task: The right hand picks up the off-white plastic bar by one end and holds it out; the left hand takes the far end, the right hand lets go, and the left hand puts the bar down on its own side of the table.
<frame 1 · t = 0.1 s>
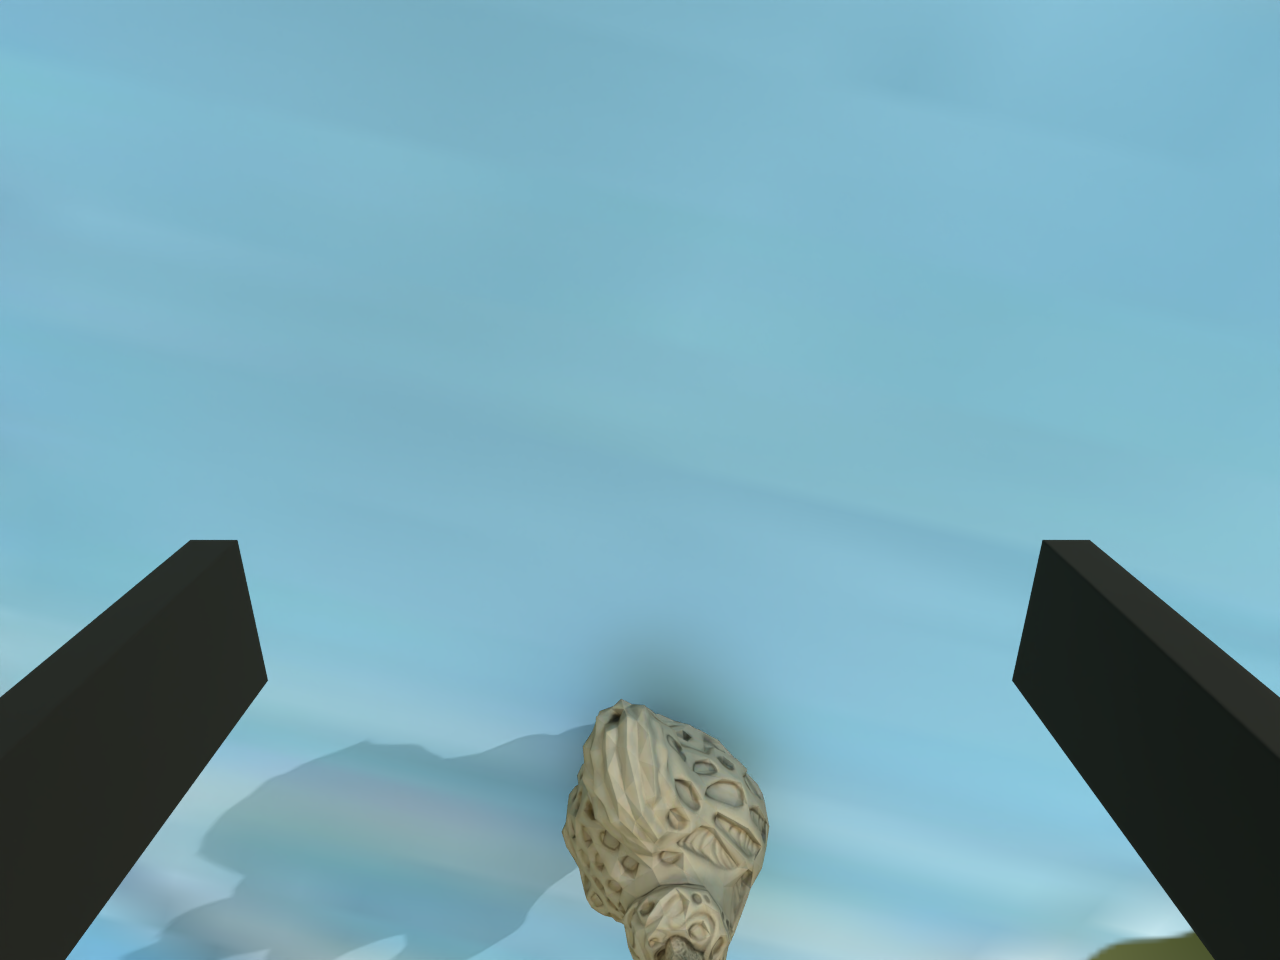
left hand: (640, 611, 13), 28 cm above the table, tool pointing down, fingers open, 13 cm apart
teapot: (666, 767, 50), on the table
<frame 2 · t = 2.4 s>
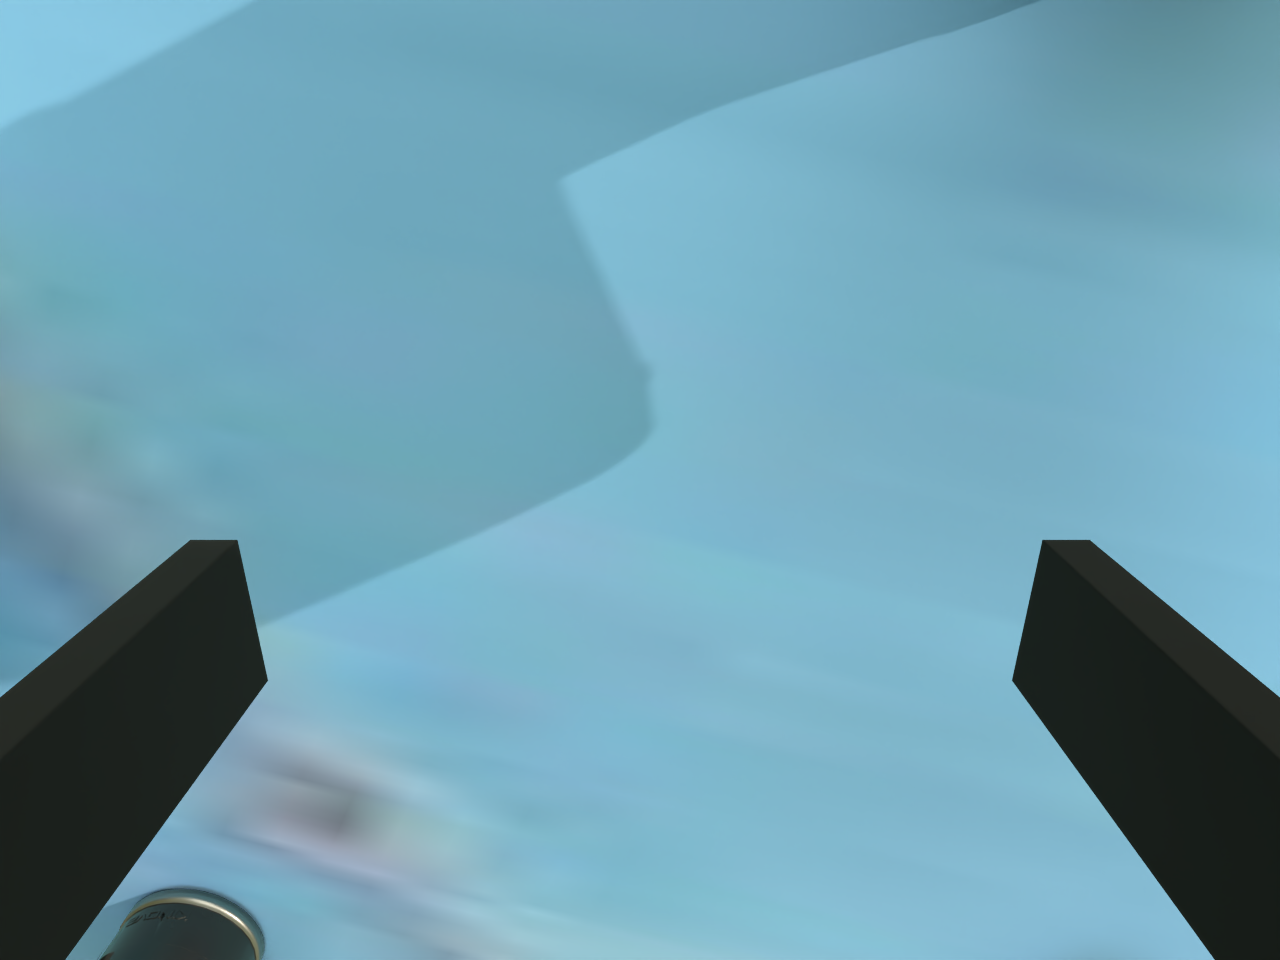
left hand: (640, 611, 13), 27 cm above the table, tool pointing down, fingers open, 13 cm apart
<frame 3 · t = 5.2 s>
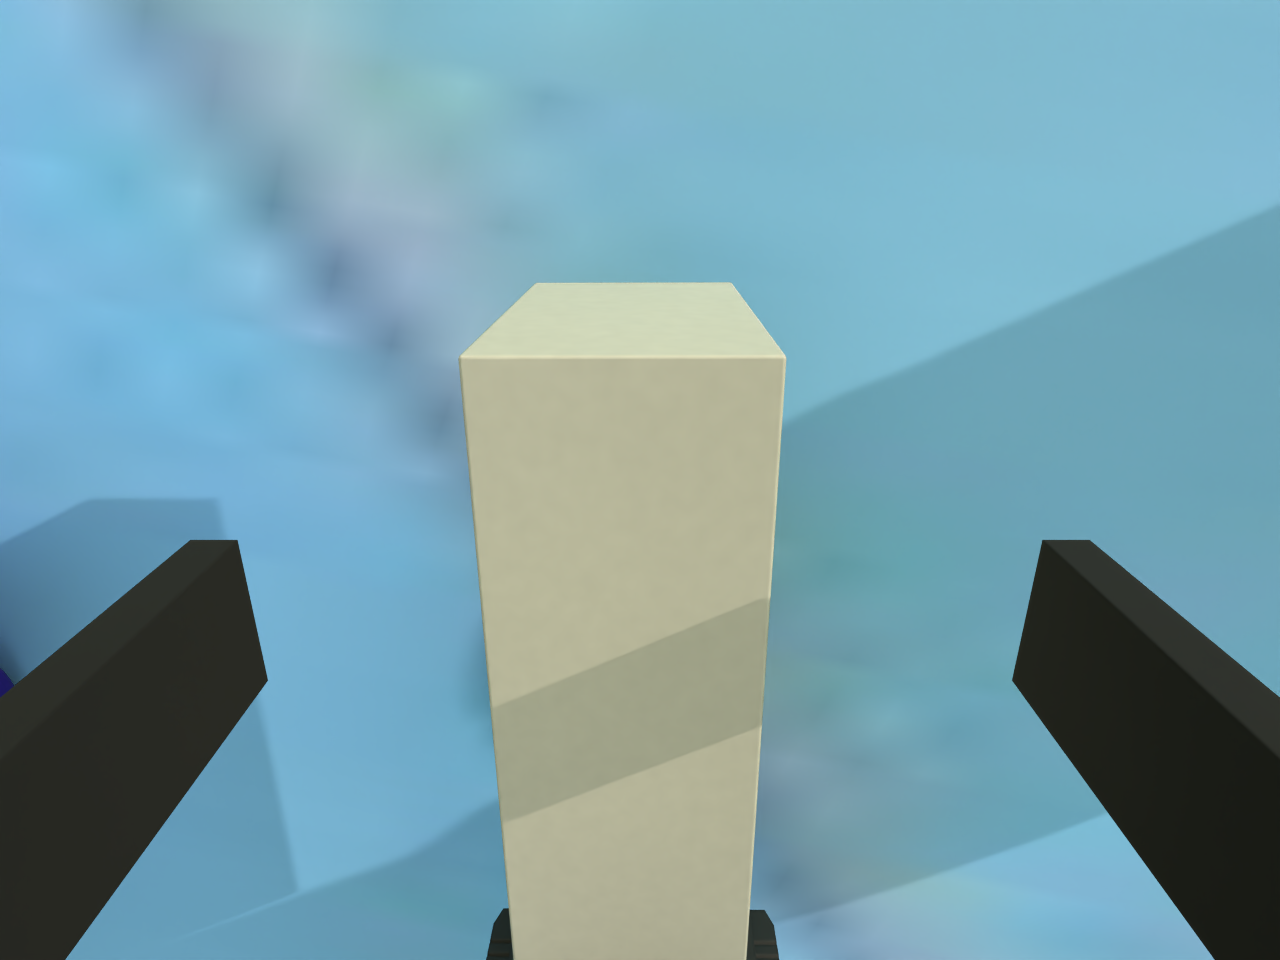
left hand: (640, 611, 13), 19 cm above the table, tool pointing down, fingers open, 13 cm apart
bar: (635, 630, 26), point 8 cm above the table, touching right hand
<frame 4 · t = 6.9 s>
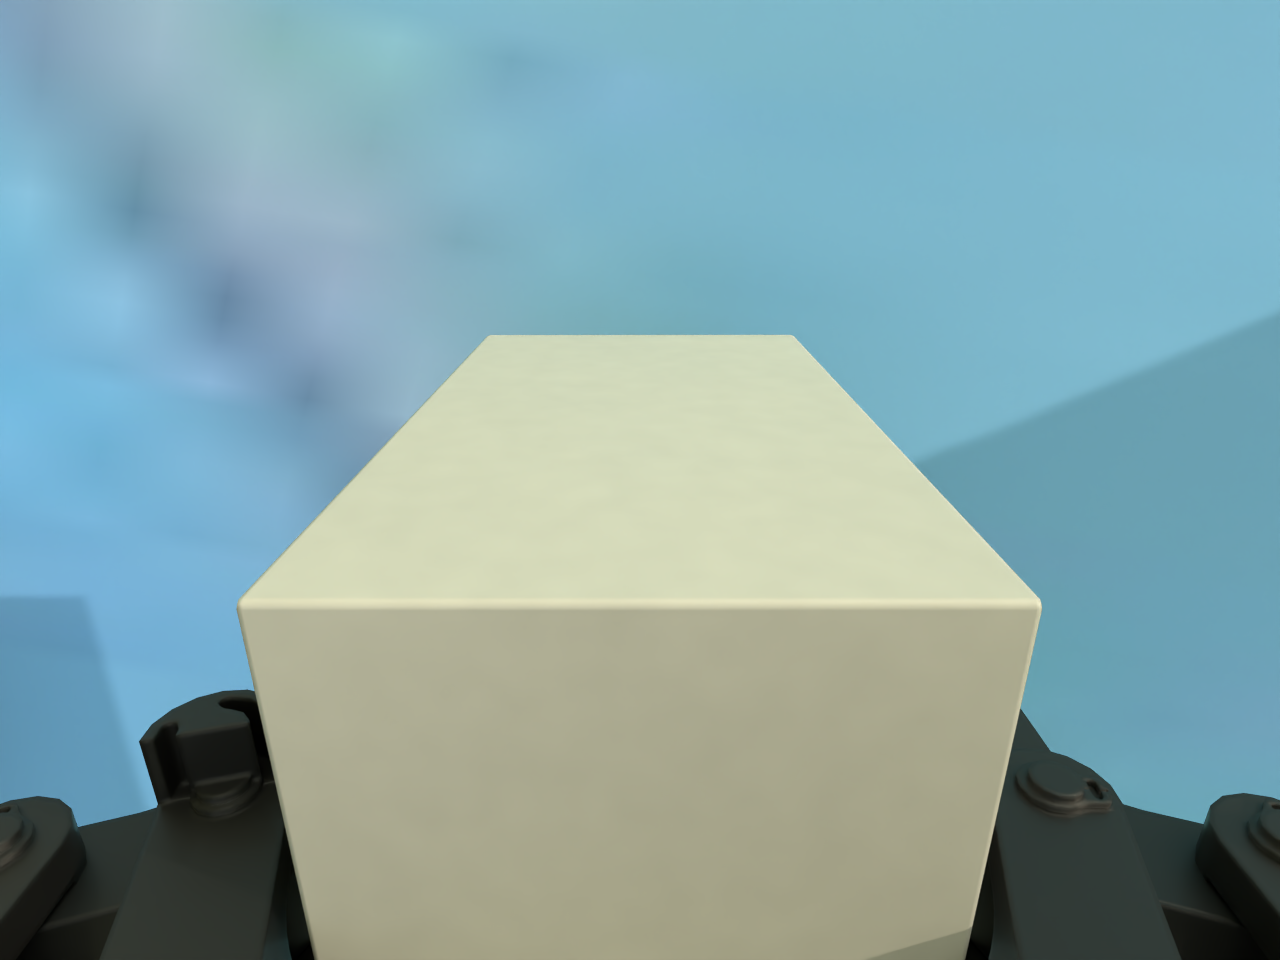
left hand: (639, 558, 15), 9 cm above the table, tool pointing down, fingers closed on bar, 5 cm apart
bar: (640, 818, 18), point 8 cm above the table, touching left hand, right hand
when the right hand's fingers open (13 cm above the table, at t = 7.9 s): bar stays where it is, held by the left hand.
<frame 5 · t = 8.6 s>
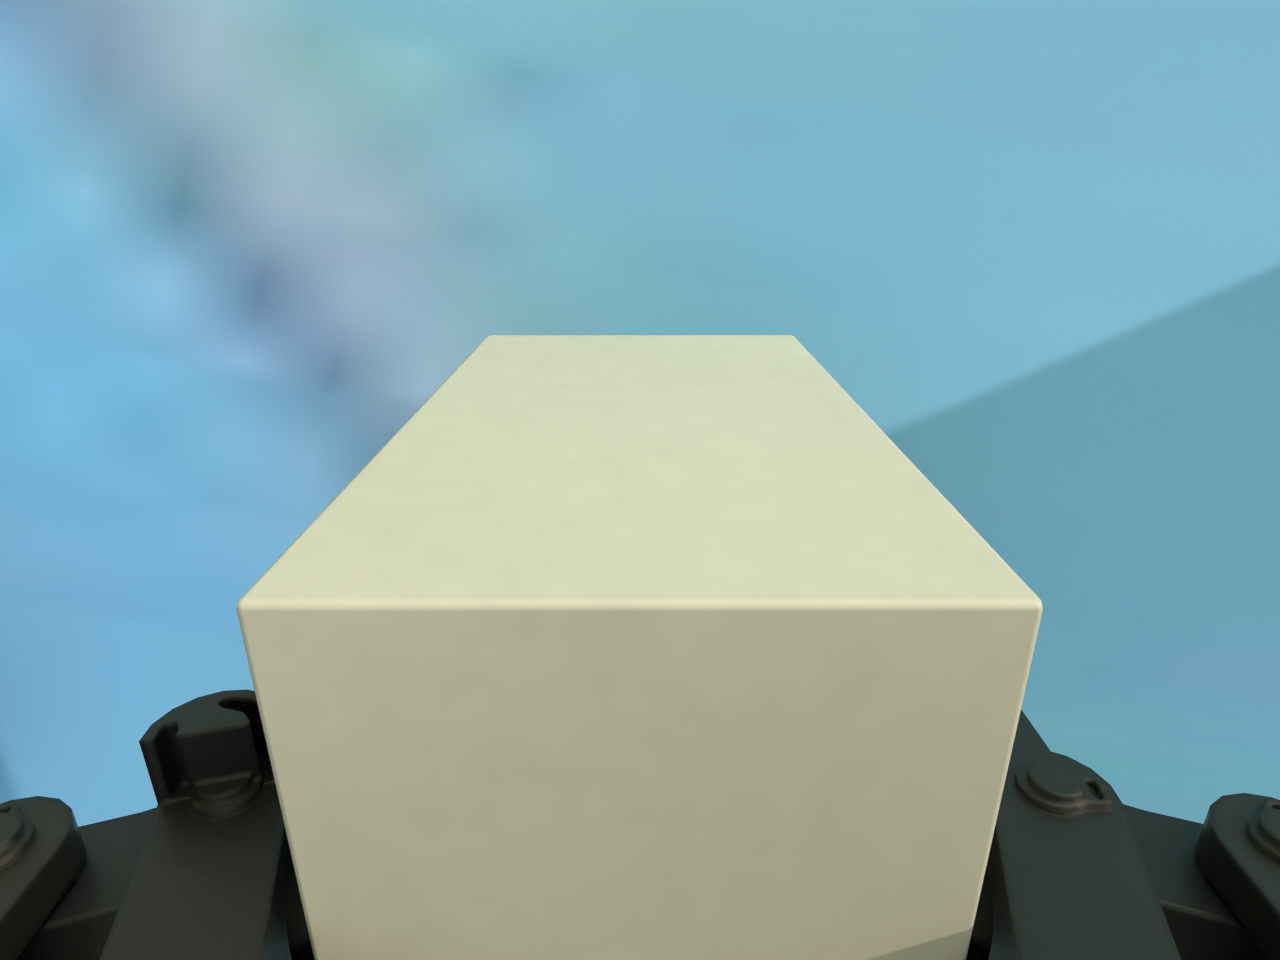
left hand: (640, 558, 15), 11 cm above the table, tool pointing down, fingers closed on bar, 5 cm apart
bar: (640, 818, 18), point 10 cm above the table, touching left hand
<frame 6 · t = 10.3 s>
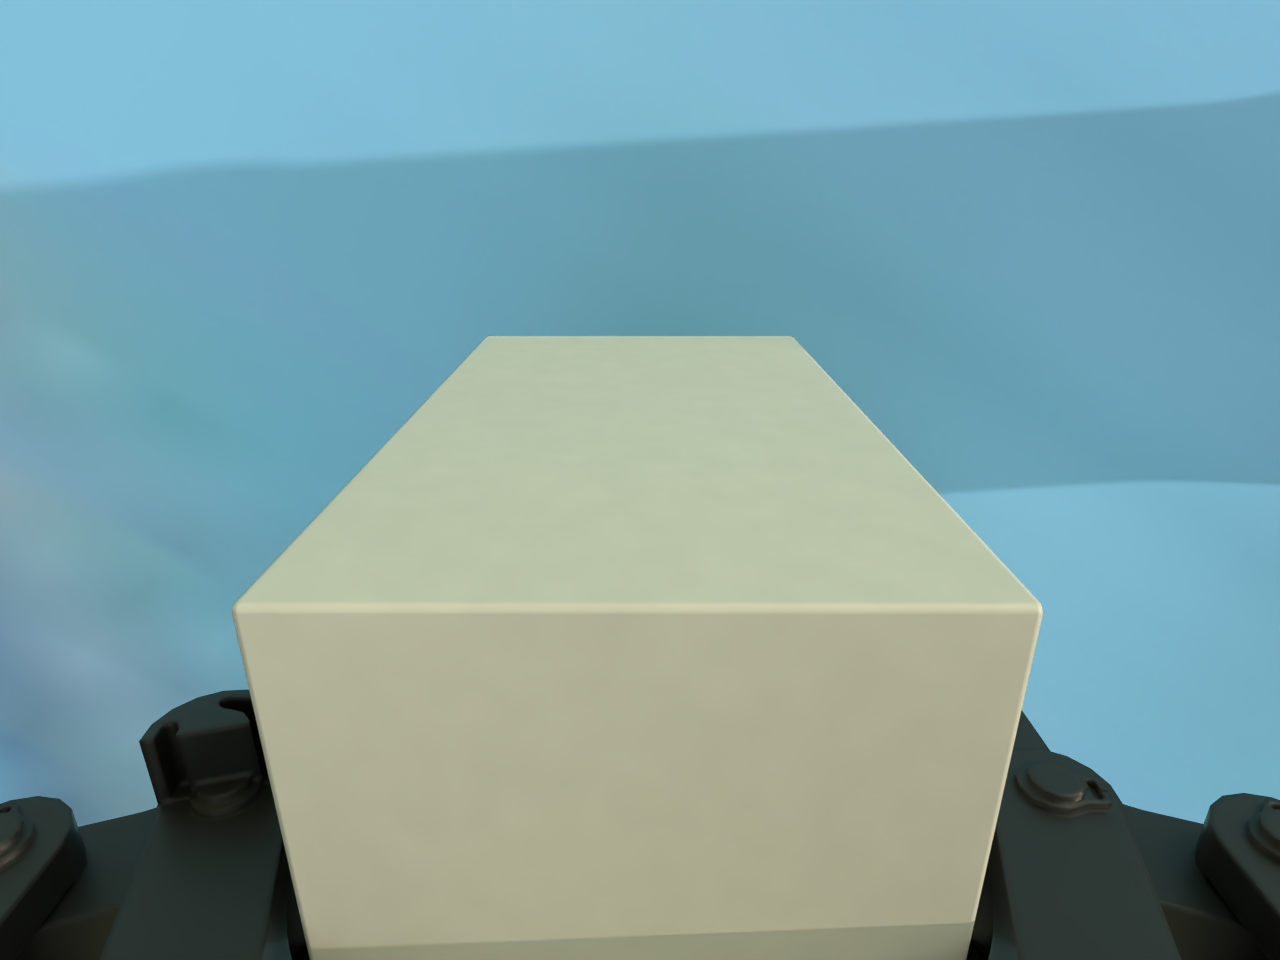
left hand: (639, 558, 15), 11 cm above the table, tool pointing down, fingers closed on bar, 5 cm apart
bar: (639, 820, 18), point 10 cm above the table, touching left hand
when the left hand's fingers open (2 cm above the table, at t = 11.8 s): bar drops 1 cm, on the table.
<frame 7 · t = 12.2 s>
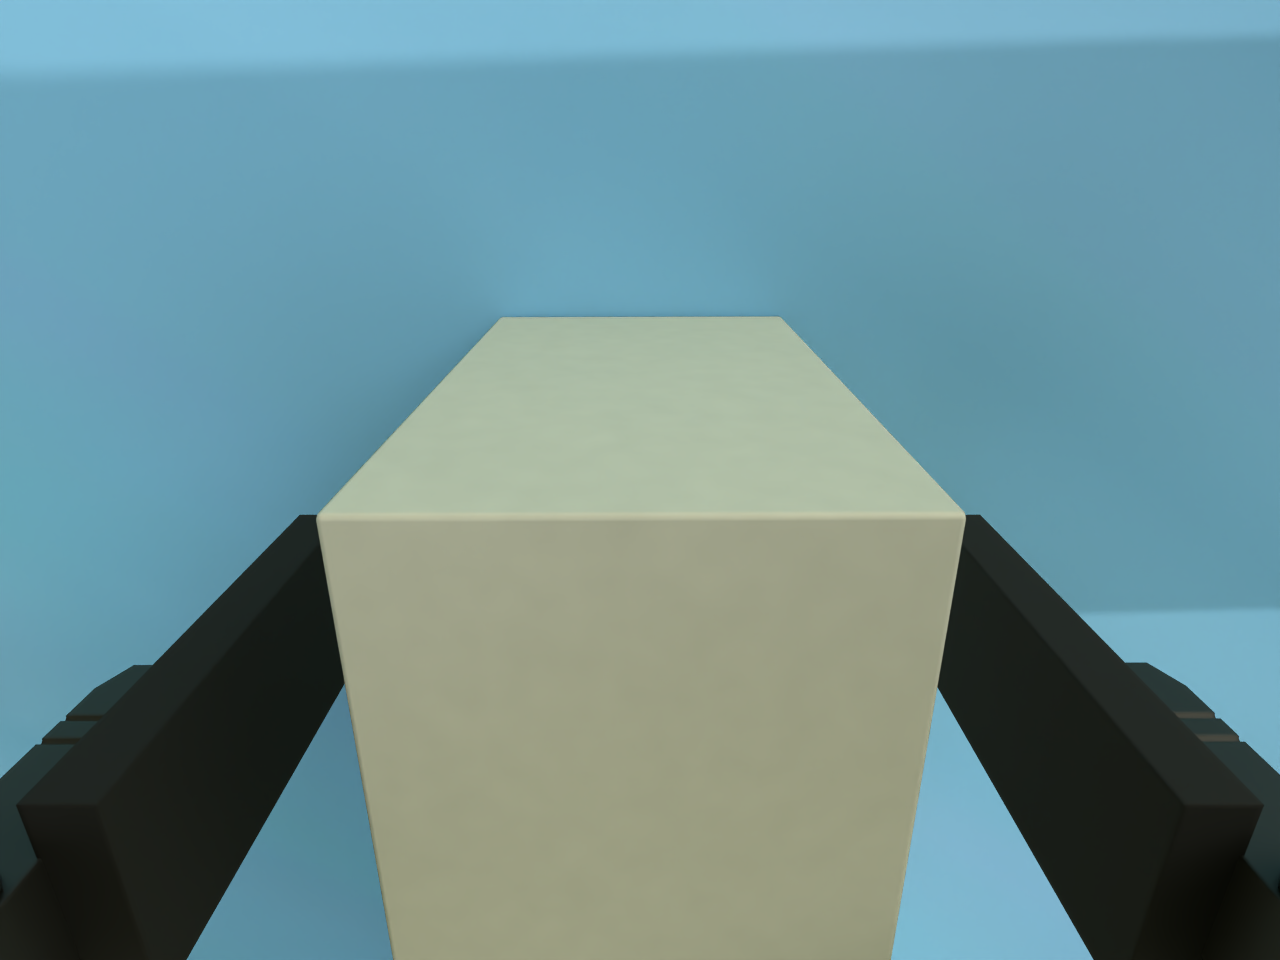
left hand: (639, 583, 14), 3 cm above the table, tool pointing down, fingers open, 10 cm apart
bar: (641, 771, 19), on the table
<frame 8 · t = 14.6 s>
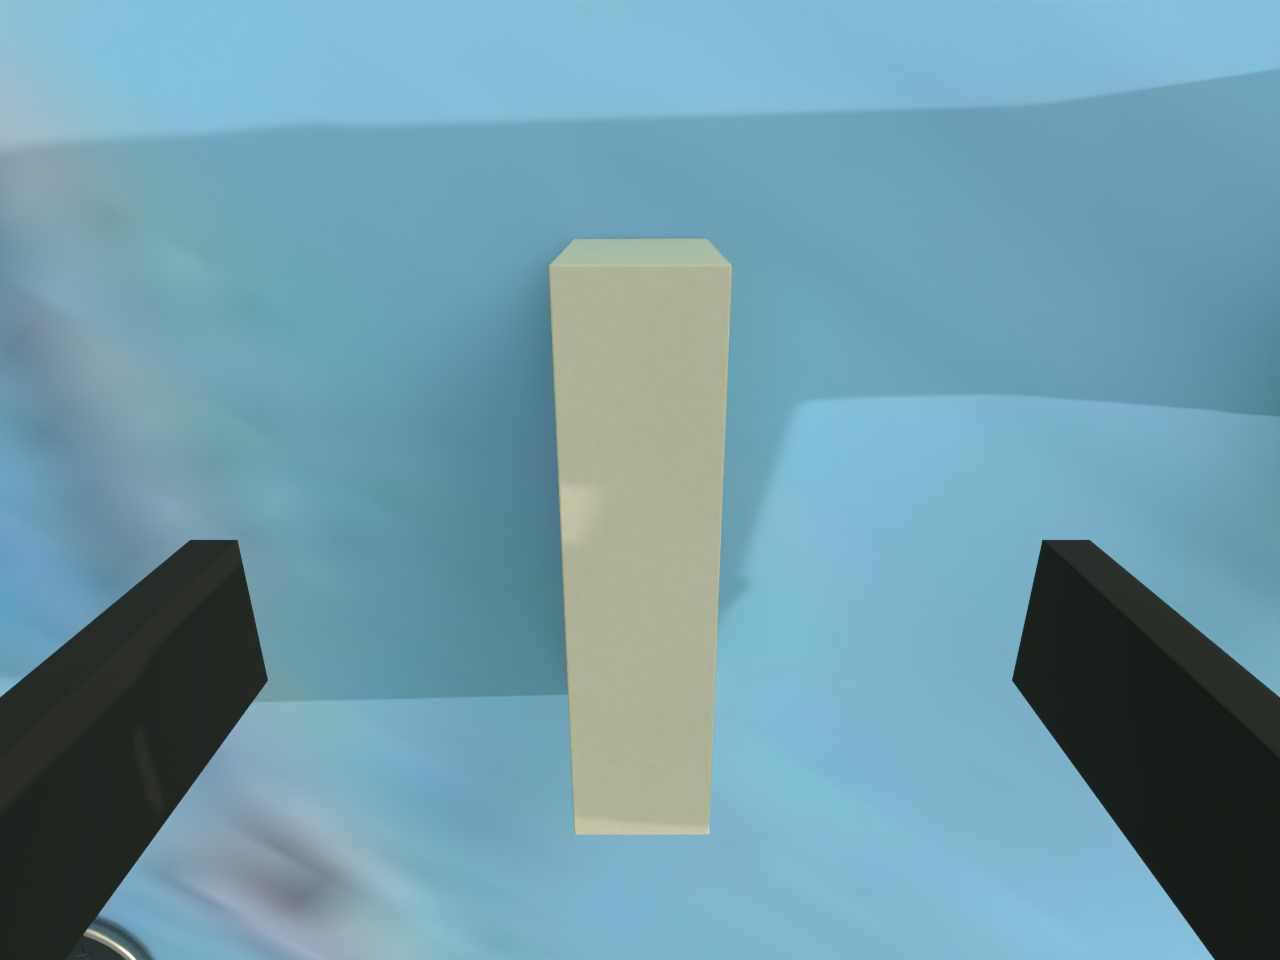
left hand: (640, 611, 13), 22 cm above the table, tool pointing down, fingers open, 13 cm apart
bar: (640, 492, 36), on the table
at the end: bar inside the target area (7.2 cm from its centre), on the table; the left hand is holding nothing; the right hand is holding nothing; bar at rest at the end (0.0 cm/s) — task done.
